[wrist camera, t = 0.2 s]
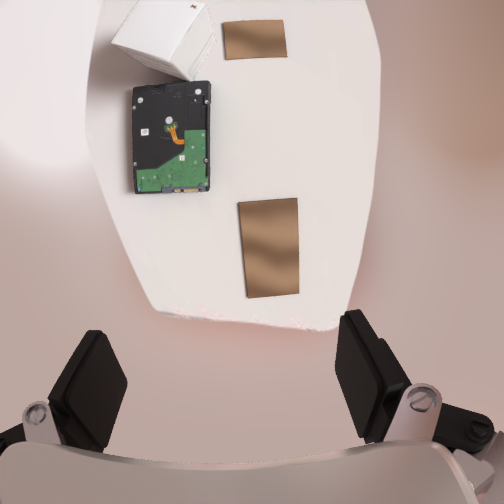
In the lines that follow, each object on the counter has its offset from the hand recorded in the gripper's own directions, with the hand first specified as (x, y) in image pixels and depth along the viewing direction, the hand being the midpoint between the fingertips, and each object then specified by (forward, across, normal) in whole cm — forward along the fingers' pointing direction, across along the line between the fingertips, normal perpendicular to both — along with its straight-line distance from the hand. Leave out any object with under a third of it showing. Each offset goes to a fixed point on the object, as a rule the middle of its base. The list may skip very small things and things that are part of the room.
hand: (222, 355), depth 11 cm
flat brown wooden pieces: (+31, -5, -5) cm, 31 cm away
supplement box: (+31, +5, -21) cm, 38 cm away
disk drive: (+31, +7, -9) cm, 33 cm away
